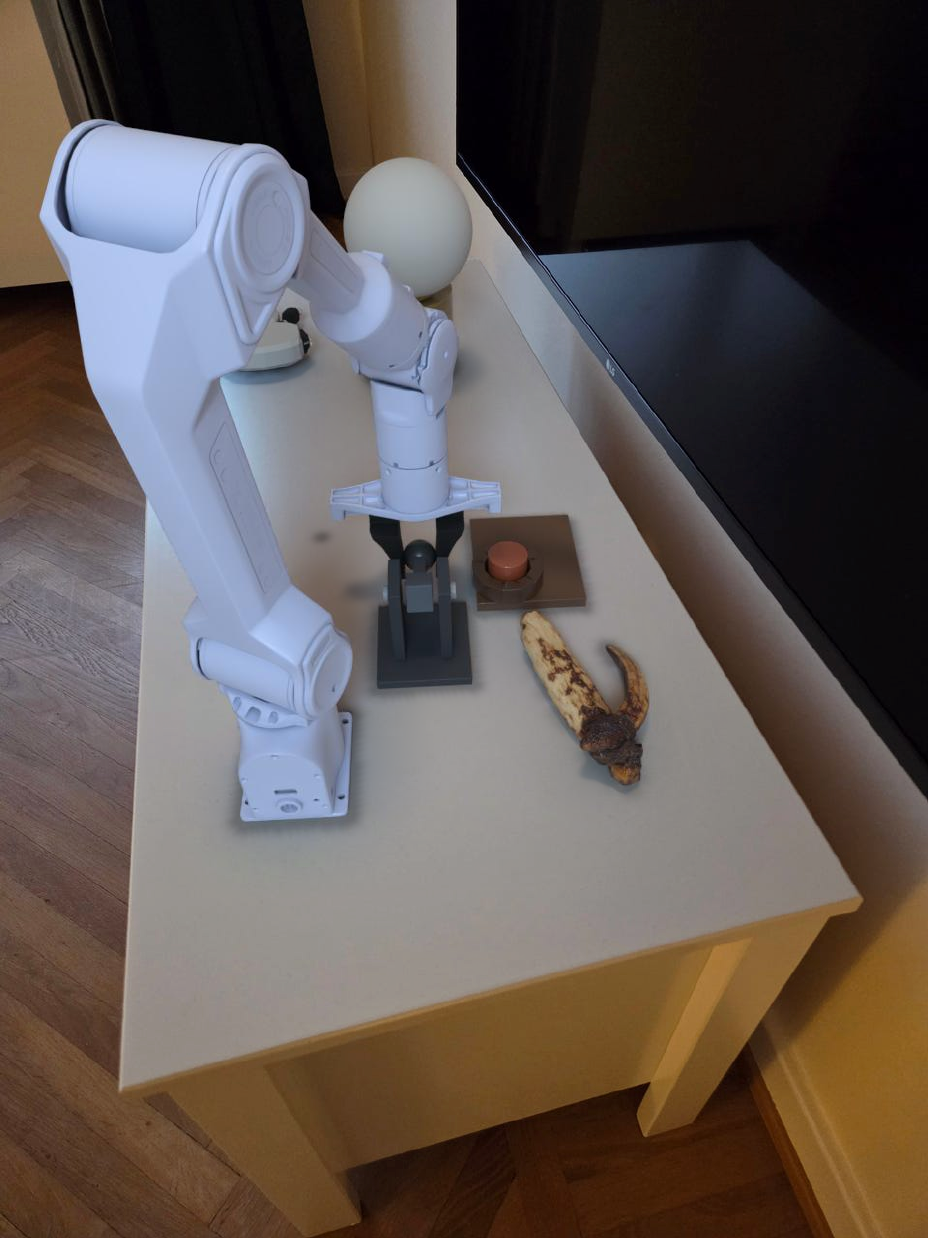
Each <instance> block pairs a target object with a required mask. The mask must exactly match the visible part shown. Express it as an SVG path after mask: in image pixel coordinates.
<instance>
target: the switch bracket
mask: <svg viewBox="0 0 928 1238" xmlns="http://www.w3.org/2000/svg"><path fill="white" fill-rule="evenodd" d="M449 562H450V561H449V557H437V558H436V562H435V564H436V563H437V578H436V581H437V582H436V583H437V600H438V601H437V602H438V603H434V611H433V612H413V613H407V606H406V604H405V600H404V589H403V579H402V577H401V566H400V559H394V560H390V559H388V560H387V584H383V585H382V601H383V603H387V604H388V605H383V606H382V605H381V606H378V608H377V647H376V648H377V651H376V653H377V654H376V655H377V656H376V688H377V689H378V690H386V689H404V688H406V689H407V688H408V689H409V688H424V687H425V688H427V687H444V686H446V687H447V686H462V685H463V686H465V685H472V684H473V675H472V663H471V662H472V661H471V649H470V648H471V647H470V636H469V625H468V612H467V603H466V602H463V601H462V602H452V600H457V582H456V581H451V578H450V563H449Z"/></svg>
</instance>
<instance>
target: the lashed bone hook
mask: <svg viewBox="0 0 928 1238" xmlns="http://www.w3.org/2000/svg"><path fill="white" fill-rule="evenodd" d="M520 628H521V630H522V631H521V634H520V639H521V642H522V644H523V648H524V650H525V651H526V653H527V655H528V657H529V659H530V660H531V662H532V668H533V670H534V672H535V673H536V675H537V676H538V678H539V679H540V681H541V682H542V684H543V685H544V687H545V690H546V692H547V694H548V696H549V698H550V699H551V702H552V703H553V705H554V706H555V707H556V708H557V709H558V711H559V712H558V713H559V714H560V716H561V717H562V718H563V720H565V721H566V724H567V726H568V727H569V728H570V729H571V730H572V732H573V733H574V734H575V735H576V737H577V738H578V739H579V748H580V749H581V751H586V752H588V754H589V755H590V757H591V758H592V759H593V760H594V761H595V762H596V763H597V764H598V765H600V766H607V767H608V769H609V772H610V778H612V779H613V780H615V781H616V782H618V783H619V784H620V785H621V786H631V785H633V784H635V783H637V782H639V781H641V768H642V757H643V754H644V748H643V743H636V742H635V740H634V739H635V738H636V737H637V735H638V733H637V732H638V731H639V730H640V728H641V726H642V725H643V724H644V722H645V720H646V717H647V715H648V711H649V709H650V691H649V687H648V683H647V679H646V678H645V675H644V673H643V671H642V670H641V668H640V666H638V664H637V663H635V661H634V660H633V659H632V658H631V657H630V656H628V655H627V654H626V653H624V652H623V651H621V650H619V649H617V648H616V647H614V646H611V645H605V649H606V652H607V653H608V655H609V656H610V658H611V659H612V660H613V661H614V663H615V664H616V665H617V667H619V669H620V671H621V673H622V675H623V679H624V685H625V698H624V701H623V703H622V704H621V705H620V706H619V709H617V711H616V712H615V713H613V712H612V709H611V708H610V707H609V706H608V705H607V703H606V701H605V700H604V697H603V696H602V694H601V693H600V692H599V690H598V689H597V687H596V685H595V684H594V683H593V681H592V680H591V678H590V677H589V675H588V674H587V673H586V671H585V670H584V669H583V667H582V666H581V664H580V663H579V661H578V660H577V659H576V658H575V657H574V655H573V654H572V653H571V651H570V649H569V648H568V646H567V644H566V642H565V641H564V639H563V637H562V636H561V635H560V634H559V632H558V631H557V630H556V629H555V628H554V626H552V623H551V622H550V621H549V620H548V619H546V618H545V617H544V616H543V613H541V612H540V611H537V610H530V611H527V612H524V613H523V614H522V616H521V618H520Z"/></svg>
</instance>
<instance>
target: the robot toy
mask: <svg viewBox="0 0 928 1238" xmlns="http://www.w3.org/2000/svg"><path fill="white" fill-rule="evenodd" d="M302 314H303V308H302V307H291V306H289V307H286V308H285V310H284V311H283V312H281V317H280V311H279V310H277V308H276V309H275V311H274V313H273V315H272V317H271V319H270V321H269V323H268V325H267V327H266V329H265V331H264V333H263V335H262V337H261V339H260V341H259V343H258V345H257V347H256V349H255V351H254V353H253V355H252V357H251V359H250V361H249V363H248V365H247V366H245V367H243V368H241V369H239V370H238V371H242V372H252V371H267V370H273V369H278V368H282V367H283V368H287V367H289V366H292V365H294V364H296V363H298V362H300V361H301V360H303V359H304V355H306V354H307V353H308V351H309V349H310V347H314V344H313V338H312V337H309V334H308V333H307V332H306V331H305V330H304V329H303V328H300V327H299V326H298V323H299V321H300V318H301V317H300V316H302Z"/></svg>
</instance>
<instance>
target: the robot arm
mask: <svg viewBox="0 0 928 1238" xmlns="http://www.w3.org/2000/svg"><path fill="white" fill-rule="evenodd" d="M39 220H40V222H41V225H42V227H43V228H44V230H45V233H46V235H47V237H48V239H49V242H50V243H51V245H52V247H53V249H54V251H55V254H56V256H57V258H58V260H59V262H60V265H61V266H62V268H63V271H64V272H65V275H66V276H67V278H68V281H69V284H70V285H71V287H72V292H73V299H74V303H75V311H76V318H77V324H78V330H79V336H80V342H81V349H82V357H83V363H84V368H85V373H86V378H87V380H88V384H89V386H90V389H91V391H92V394H93V396H94V397H95V399H96V401H97V403H98V405H99V407H100V409H101V411H102V413H103V415H104V416H105V419H106V421H107V423H108V424H109V427H110V428H111V429H110V430H111V431H112V432H113V434H114V436H115V437H116V438H115V439H116V440H117V442H118V444H119V446H120V448H121V450H122V452H123V453H124V456H125V457H126V460H127V461H128V464H129V465H130V468H131V470H132V471H133V473H134V475H135V477H136V479H137V482H138V483H139V485H140V487H141V489H142V491H143V493H144V495H145V497H146V499H147V500H148V502H149V505H150V506H151V508H152V511H153V512H154V514H155V517H156V518H157V520H158V522H159V524H160V527H161V528H162V530H163V532H164V533H165V535H166V538H167V539H168V542H169V544H170V545H171V547H172V549H173V551H174V553H175V555H176V557H177V559H178V561H179V563H180V565H181V567H182V569H183V571H184V573H185V575H186V576H187V579H188V581H189V582H190V585H191V586H192V588H193V590H194V592H195V594H196V596H195V597H194V599H193V601H192V602H191V603H190V605H189V607H188V609H187V611H186V612H185V615H184V617H183V619H182V620H181V624H182V627H183V628H184V630H185V632H186V634H187V638H188V643H189V660H190V665H191V667H192V670H193V672H194V673H195V674H196V675H197V676H198V677H200V678H202V679H204V680H206V681H215V682H216V684H217V686H218V689H219V692H220V694H222V695H224V696H225V697H226V698H227V699H228V701H229V703H230V705H231V708H232V711H233V714H234V716H235V720H236V724H237V726H238V730H239V731H238V732H239V735H240V749H239V750H240V752H239V757H238V765H237V777H238V781H239V783H240V786H241V789H242V798H241V803H240V812H239V817H240V819H241V821H243V822H246V823H247V822H264V821H265V822H266V821H281V820H283V821H284V820H285V821H286V820H300V819H302V820H303V819H319V818H321V819H322V818H335V817H336V818H337V817H344V816H346V815H347V814H348V812H349V802H350V801H349V800H350V781H351V780H350V779H351V778H350V777H351V759H352V737H353V732H352V731H353V715H352V713H351V712H350V711H339V710H338V705H337V703H338V702H339V701H340V699H341V697H342V696H343V694H344V692H345V690H346V688H347V685H348V683H349V681H350V678H351V674H352V669H353V662H354V654H353V648H352V643H351V640H350V637H349V635H348V634H347V633H346V632H345V631H344V630H340V629H338V628H337V626H336V625H335V622H334V618H333V615H332V614H331V613H330V612H329V611H328V610H326V609H325V608H324V607H323V606H322V605H320V604H318V603H317V602H316V601H315V600H314V599H312V598H311V597H310V596H308V595H307V594H306V593H304V592H303V591H302V590H300V588H298V587H297V586H296V585H295V584H293V582H292V578H291V576H290V573H289V570H288V568H287V564H286V561H285V560H284V557H283V553H282V551H281V548H280V546H279V542H278V540H277V537H276V535H275V531H274V529H273V526H272V524H271V521H270V518H269V515H268V512H267V510H266V507H265V505H264V501H263V498H262V496H261V493H260V489H259V487H258V485H257V482H256V479H255V477H254V473H253V471H252V468H251V465H250V462H249V459H248V458H247V454H246V451H245V448H244V446H243V444H242V443H243V442H242V440H241V437H240V435H239V432H238V428H237V426H236V424H235V420H234V418H233V416H232V412H231V410H230V408H229V407H230V406H229V404H228V401H227V399H226V397H225V393H224V391H223V388H222V385H221V378H222V377H224V376H227V375H229V374H231V373H234V372H236V371H240V370H239V369H241V368H243V367H245V366H247V365H248V363H249V361H250V359H251V357H252V355H253V353H254V351H255V349H256V347H257V345H258V343H259V341H260V339H261V337H262V335H263V333H264V331H265V329H266V327H267V325H268V323H269V321H270V319H271V317H272V315H273V313H274V311H275V309H276V310H277V308H278V305H279V304H280V302H281V300H282V298H283V295H284V294H285V292H286V290H287V289H289V290H291V291H292V292H294V293H295V294H297V295H298V296H300V297H302V299H304V300H306V301H307V302H308V303H309V304H308V305H309V313H310V316H311V319H312V322H313V324H314V325H315V328H317V330H318V331H319V332H320V333H321V334H322V336H324V337H325V338H326V339H328V340H329V341H331V342H332V343H334V344H335V345H336V346H338V347H339V348H340V349H342V350H343V351H344V352H346V353H347V354H348V356H349V362H350V366H351V368H352V370H353V372H354V374H355V375H356V376H359V375H361V376H365V377H367V378H369V385H370V395H371V405H372V414H373V425H374V432H375V441H376V452H377V461H378V462H377V463H378V472H379V478H378V479H375V480H370V481H367V482H363V483H359V484H356V485H351V486H347V487H340V488H331V489H330V492H329V503H328V504H329V509H330V515H331V520H332V521H333V522H334V521H335V522H336V521H344V520H345V519H346V516H359V515H368V519H369V520H368V521H369V522H368V523H369V534H370V537H371V539H372V540H373V541H374V543H376V545H378V546H379V547H380V548H381V549H382V551H384V553H385V554H386V556H387V558H388V560H394V559H400V566H401V577H402V580H406V573H407V572H406V571H407V570H406V569H407V568H406V564H405V562H404V559H403V553H404V549H405V547H404V542H403V537H402V530H401V522H408V523H422V522H426V521H427V522H428V521H431V520H434V519H435V547H434V549H435V551H436V558H437V557H448V558H449V557H450V555H451V553H452V551H453V549H454V547H455V545H456V544H457V543H458V541H459V540H460V539H461V538H462V536H463V534H464V531H465V526H466V525H465V511H471V510H472V511H473V510H487V512H488V513H489V514H501V513H502V498H503V497H502V489H501V482H500V481H485V480H475V479H472V478H471V479H470V478H464V477H460V476H453V475H449V446H448V445H449V443H448V441H449V440H448V419H447V418H448V415H447V413H448V412H447V403H448V402H449V401H450V400H451V398H452V392H453V390H454V380H453V379H454V372H455V367H456V363H457V359H458V353H459V345H460V334H459V333H458V330H457V327H456V324H455V323H454V321H453V322H452V321H451V320H448V318H447V315H446V314H445V313H444V312H443V311H441V310H436V309H431V308H426V307H423V306H422V304H421V303H420V302H419V301H418V300H417V299H416V298H415V297H414V291H413V290H412V289H411V288H410V287H409V286H406V285H402V284H401V283H400V282H399V281H398V280H397V279H396V278H395V277H394V276H393V275H392V274H391V272H390V271H389V270H388V267H389V260H388V259H387V258H386V257H385V256H384V255H383V254H382V253H377V252H372V251H366V250H363V251H362V252H349V253H348V252H347V251H346V250H345V249H344V247H342V245H341V244H340V243H339V241H338V240H336V238H335V237H334V236H333V235H332V233H331V232H330V231H329V230H328V228H327V227H326V226H325V225H324V223H322V221H321V220H320V219H319V218H318V217H317V215H316V214H315V213H314V212H313V210H312V209H311V200H310V191H309V184H308V180H307V179H306V177H304V176H303V175H302V174H301V173H299V172H297V171H296V170H294V169H292V168H291V166H290V164H289V162H288V161H287V159H286V158H285V157H284V156H283V155H282V154H281V153H280V152H279V151H278V150H276V149H275V148H273V147H271V146H269V145H266V144H261V143H242V144H241V145H240V144H236V143H235V144H234V143H229V142H221V141H215V140H210V139H204V138H203V139H202V138H197V137H192V136H191V137H190V136H184V135H177V134H172V133H164V132H158V131H152V130H146V129H145V130H144V129H139V128H132V127H126V126H124V125H122V124H120V123H119V122H117V121H113V120H106V119H102V118H97V119H95V118H94V119H89V120H86V121H83V122H81V123H79V124H78V125H76V126H74V127H73V128H72V129H71V130H70V131H69V132H68V133H67V134H66V136H64V138H63V140H62V141H61V142H60V145H59V146H58V149H57V152H56V154H55V158H54V160H53V164H52V168H51V171H50V175H49V179H48V182H47V186H46V190H45V193H44V197H43V201H42V204H41V207H40V211H39ZM435 578H436V579H437V563H436V561H435ZM341 797H343V798H342V799H340V798H341Z"/></svg>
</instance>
